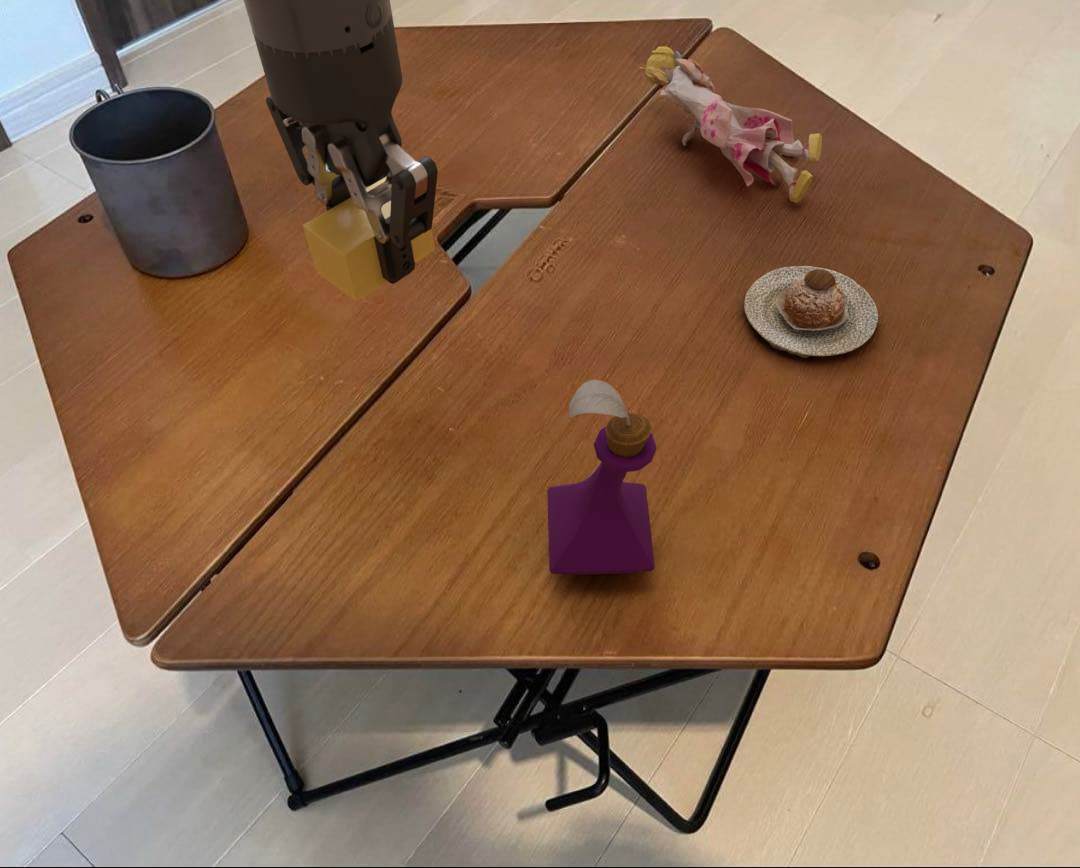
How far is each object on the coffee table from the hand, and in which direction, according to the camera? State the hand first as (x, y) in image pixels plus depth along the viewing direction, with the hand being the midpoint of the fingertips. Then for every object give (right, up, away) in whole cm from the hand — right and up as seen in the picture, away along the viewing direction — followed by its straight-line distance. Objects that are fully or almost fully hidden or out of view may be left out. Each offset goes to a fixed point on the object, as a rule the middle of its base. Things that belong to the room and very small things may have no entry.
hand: (375, 258), depth 62 cm
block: (0, 0, 0) cm, 0 cm away
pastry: (+36, -1, +22) cm, 43 cm away
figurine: (+30, +18, +39) cm, 52 cm away
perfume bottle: (+16, -21, +7) cm, 27 cm away
